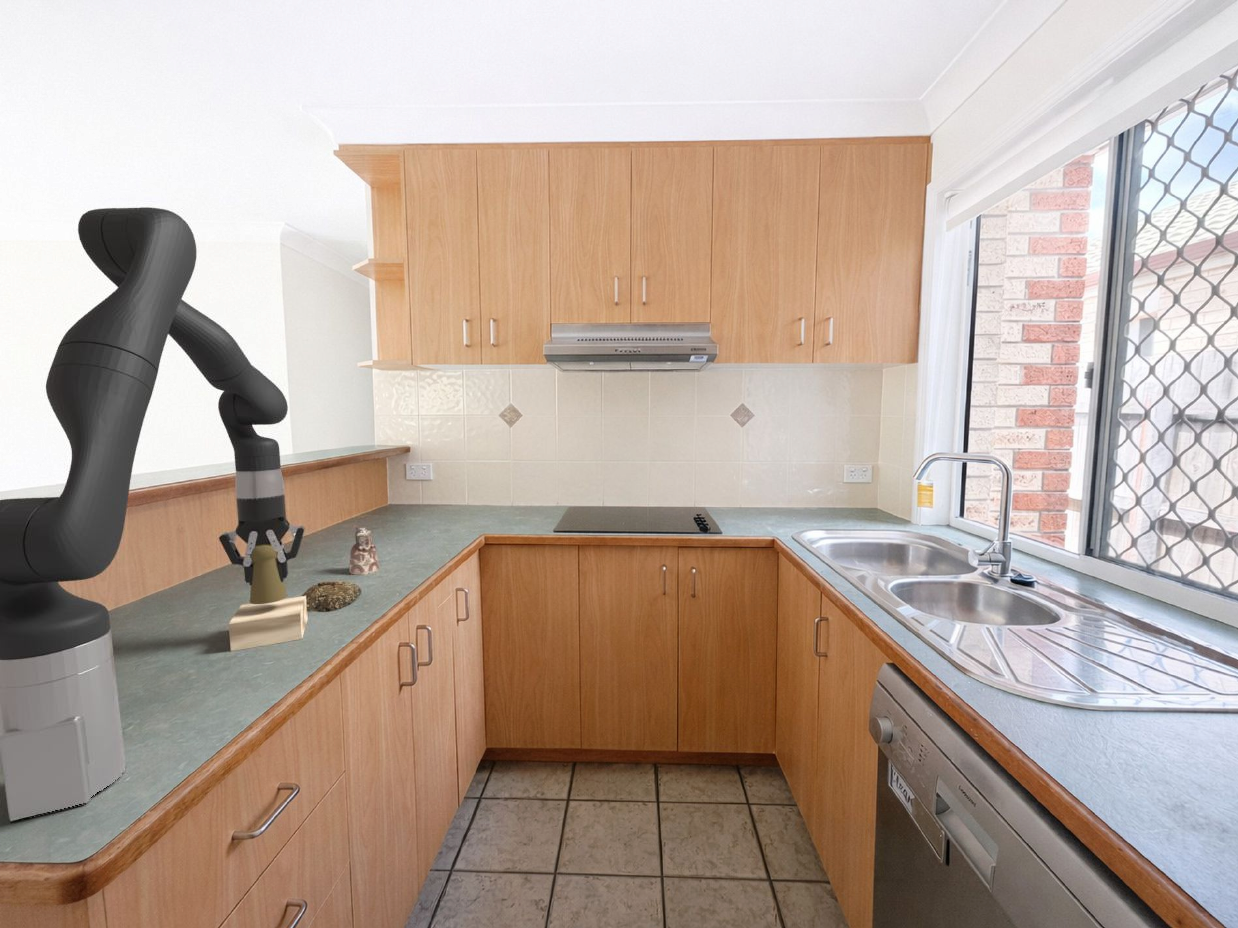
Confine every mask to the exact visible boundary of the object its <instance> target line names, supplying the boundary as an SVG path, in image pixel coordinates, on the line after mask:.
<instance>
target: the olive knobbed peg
mask: <svg viewBox="0 0 1238 928" xmlns="http://www.w3.org/2000/svg"><path fill="white" fill-rule="evenodd" d="M275 546H276V545H275ZM277 556H278V552H276V551H275V549H274V548H273V547H272V545H271V544H260V545H256V546H255V548H254V549H253V550H252V553H251V554H250V558H251V560H252V561H253V579H252V585H251V586H250V594H249V595H250V597H249V603H251V604H267V603H272V602H276V601H280V600H282V599H285V598H288V592H287V588H286V585H285V580H284V581H283V582H282V581H280V577H279V573H278V565H277V564H278V563H279V560H278V558H277Z"/></svg>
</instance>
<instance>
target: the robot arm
mask: <svg viewBox="0 0 1238 928" xmlns="http://www.w3.org/2000/svg"><path fill="white" fill-rule="evenodd" d="M77 224H78V225H77V226H78V227H77V232H78V238H79V241H80V243H81V246H82V248H83V250H84V251H85V253H86V255H87V256H88V257H89V259H90V260H91V262H93V264H94V265H95V266H96V267H97V268H98V270H99V271H100V272H102V274H104V276H106V278H107V279H108V280H109V281H111V282H112V283H113V284H114V285H115V286H116V287H117V288H116V289H115V290H113V292H112V293H111V294H109V295H108V296H107V297H106V298H105V299H103V300H102V301H100V302H99V303H98V304H97V305H95V306H94V307H93V308H91V309H90V310H89V311H88V312H87V313H86V314H84V315H83V316H81V318H79V319H78V320H77V321H76V322H75V323H74V324H73V325H72V326H71V327H70V328H69V329H68V330H67V331H66V332H65V334H64V336H63V337H62V339H61V340H60V343H59V344H58V346H57V350H56V352H55V355H54V358H53V360H52V362H51V365H50V368H49V372H48V373H47V377H46V383H45V391H46V396H47V400H48V402H49V404H50V406H51V409H52V411H53V412H54V414H55V417H56V419H57V420H58V422H59V424H60V426H61V428H62V430H63V431H64V433H65V436H66V438H67V439H68V442H69V445H70V450H71V461H70V462H71V463H70V467H69V471H68V476H67V479H66V482H65V486H64V487H63V490H62V492H61V494H60V495H59V496H52V497H51V496H49V497H47V496H46V497H44V496H43V497H23V498H7V499H6V498H5V499H0V762H1V768H2V770H1V771H2V777H3V783H4V790H5V797H6V798H5V799H6V808H7V813H8V820H9V819H13V818H18V817H19V818H21V817H24V816H30V815H34V814H35V815H36V814H41V813H45V812H50V813H53V812H52V811H54V812H56V811H55V810H58V811H61V810H60V809H62V810H65V809H64V808H66V809H69V808H68V807H70V808H73V807H72V806H74V807H76V806H75V805H78V806H80V805H79V804H82V805H84V804H83V803H86V804H87V801H89V799H90V798H91V797H92V796H93V795H94V796H96V795H97V794H96V793H97V792H99V791H101V790H102V791H104V790H105V789H104V788H106V787H107V786H109V785H110V784H111V785H113V784H114V783H115V782H116V781H118V780H119V779H120V778H121V777H122V776H123V774H124V773H123V772H125V771H126V768H125V767H126V756H125V747H124V740H123V738H124V737H123V732H122V731H123V730H122V723H121V722H122V721H121V713H120V704H119V695H118V686H117V678H116V667H115V659H114V648H113V639H112V631H111V620H110V613H109V610H108V608H107V607H106V606H105V605H104V604H102V603H99V602H96V601H93V600H89V599H85V598H83V597H80V596H77V595H74V594H73V593H71V592H69V591H68V590H66V589H65V588H63V586H61V584H60V583H61V582H62V583H63V582H74V581H82V580H83V581H84V580H90V579H92V578H95V577H97V576H98V575H100V574H103V572H105V570H106V569H108V568H109V566H110V565H111V563H112V562H113V560H114V559H115V557H116V555H117V553H118V549H119V547H120V544H121V541H122V538H123V534H124V529H125V528H124V527H125V522H126V516H127V508H128V503H129V501H128V500H129V494H130V487H131V486H130V485H131V479H132V474H133V473H132V472H133V466H134V461H135V457H136V453H137V452H136V451H137V447H138V443H139V440H140V437H141V431H142V428H143V425H144V424H143V423H144V421H145V417H146V414H147V410H148V407H149V405H150V402H151V398H152V396H153V392H154V388H155V386H156V385H155V384H156V381H157V377H158V374H159V369H160V363H161V359H162V356H163V352H164V350H165V349H164V348H165V345H166V342H167V338H168V335H169V337H171V338H172V339H173V341H174V342H175V343H176V344H177V345H178V346H179V347H180V348H181V349H182V351H183V352H184V353H185V354H186V355H187V356H188V357H189V359H190V360H191V363H193V364H194V365H195V367H196V368H197V369H198V371H199V372H200V373H201V374H202V376H203V377H204V378H205V380H206V381H207V382H208V383H209V385H211V387H213V388H215V389H216V390H219V391H222V393H221V394H220V396H219V399H218V403H217V404H218V405H217V408H218V412H219V413H218V414H219V416H220V419H221V422H222V424H223V425H224V428H225V430H226V433H227V436H228V438H229V441H230V443H231V445H232V448H233V452H234V453H233V454H234V465H235V479H234V487H235V497H236V498H235V499H236V500H235V501H236V511H237V522H238V523H237V526H236V528H235V530H233V531H229V532H223V533H222V534H221V535H219V537H218V540H219V542H220V544H221V546H222V548H223V549H224V551H225V553H226V555H227V558H228V559H229V561H230V563H231V565H233V566H234V565H239V566H242V567H243V570H244V572H243V573H244V574H243V575H244V582H245V583H246V584H248V583H249V586H250V587H251V585H252V579H253V561H252V560H251V558H250V554H251V553H252V550H253V549H254V548H255V546H256V545H260V544H271V545H272V547H273V548H274V549H275V551H276V552H278V556H277V558H278V560H279V563H278V564H277V565H278V573H279V577H280V581H282V582H283V581H284V582H285V579H287V577H288V575H289V568H288V561H290V560H291V559H295V558H297V556H298V553H299V550H300V547H301V543H302V540H303V538H304V534H305V530H306V528H305V526H304V525H299V526H297V525H292V524H290V521H288V519H287V512H286V511H287V509H286V499H285V485H284V484H285V483H284V478H283V473H282V469H281V464H282V463H281V453H280V445H279V443H278V441H277V440H276V439H274V438H271V437H265V436H261V435H259V434H258V433H257V432H256V430H255V428H254V427H253V426H257V425H259V426H260V425H263V426H265V425H266V426H267V425H268V426H270V425H276V424H280V423H281V422H282V421H283V420H285V418H286V417H287V414H288V408H289V406H288V401H287V399H286V396H285V395H284V393H283V392H282V390H281V389H280V388H279V387H278V386H277V385H276V384H275V383H274V382H273V381H272V380H270V379H269V378H268V377H267V376H266V375H265V374H264V373H262V372H261V371H260V370H259V369H258V368H256V367H255V366H253V365H252V364H251V361H249V359H248V357H247V356H246V355H245V353H244V351H243V350H242V348H241V347H240V345H239V344H238V342H237V341H236V340H235V338H234V337H233V336H232V334H230V333H229V332H228V330H226V329H225V328H224V327H223V326H222V325H220V324H218V323H217V322H216V321H214V320H213V319H211V318H210V317H209V316H207V315H205V314H204V313H202V312H201V311H199V310H198V309H196V308H195V307H193V306H192V305H191V304H189V303H187V302H186V301H185V300H183V299H182V298H183V296H184V295H185V293H186V290H187V288H188V285H189V283H190V281H191V278H192V276H193V274H194V270H195V267H196V264H197V244H196V239H195V235H194V233H193V231H192V229H191V227H190V226H189V224H188V223H187V222H186V220H184V219H183V218H182V217H181V216H180V215H178V214H177V213H175V212H174V211H171V210H169V209H164V208H157V207H141V206H140V207H118V208H117V207H112V208H111V207H107V208H94V209H90V210H88V211H86V212H85V213H83V214H81V217H79V221H78V223H77ZM288 531H289V532H290V537H291V538H293V541H292V545H291V548H290V550H289V551H286V549H285V545H284V543H283V538H284V537H285V535H286V533H288ZM237 536H238V538H240V539H241V540H242V541H243V542H244V543H246V547H245V548H246V549H245V553H244V556H242V555H241V553H240V552H239V551H240V550H239V549H238V547H237V545H236V544H235V543H236V541H237ZM275 545H276V546H275ZM122 773H123V774H122ZM119 777H120V778H119ZM118 778H119V779H118ZM117 779H118V780H117ZM115 780H116V781H115ZM113 782H114V783H113ZM112 783H113V784H112ZM111 785H110V786H111ZM110 786H109V787H110ZM107 788H108V787H107ZM107 788H106V789H107ZM103 789H104V790H103ZM102 791H101V792H102ZM99 793H100V792H99ZM95 794H96V795H95ZM94 796H93V797H94ZM93 797H92V798H93ZM92 798H91V799H92ZM91 799H90V800H91ZM89 802H90V801H89Z"/></svg>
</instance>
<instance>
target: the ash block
mask: <svg viewBox="0 0 1238 928" xmlns="http://www.w3.org/2000/svg"><path fill="white" fill-rule="evenodd" d="M308 619H309V616H308V612H307V602H306V596H301V595H299V596H294V597H286V598H284V599H282V600H280V601H276V602H272V603H267V604H251V603H250V602H249V603H244V604H243V603H242V604H241V605H240V606H239V608H238V610H237V611H236V612H235V614H234V615H233V617H232V618H231V619H230V621H229V623H228V634H229V643H230V652H234V651H240V650H246V649H252V648H258V647H263V646H269V645H275V644H280V643H288V642H294V641H300V640H303V637H304V633H305V630H306V627H307V622H308Z"/></svg>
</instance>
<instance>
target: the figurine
mask: <svg viewBox="0 0 1238 928" xmlns="http://www.w3.org/2000/svg"><path fill="white" fill-rule="evenodd" d="M355 529H356V530H355V538H354V539H355V543H354V544H353V546H352V547H351V550H350V552H349V555H350V557H349V566H348V567H349V568H348V570H349V574H350V573H351V574H350V575H352V574H355V575H356V576H358V575H359V576H360V575H361V576H364V575H363V574H365V575H369V574H368V573H370V574H373V573H375V571H376V572H378V571H379V570H380V566H379V560H378V553H377V546H376V545H375V544H374V543H373V542H372V541H373V540H372V531H371V530H370V529H368V527H367V528H366V527H361V526H359V525H358V526H356V527H355Z"/></svg>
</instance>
